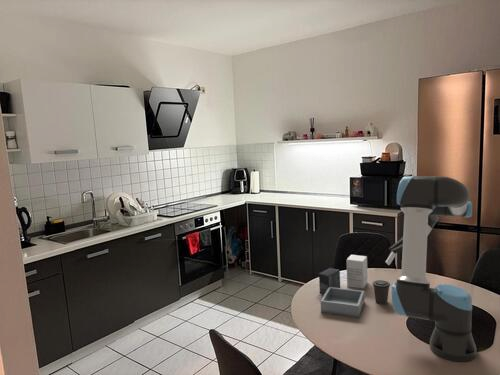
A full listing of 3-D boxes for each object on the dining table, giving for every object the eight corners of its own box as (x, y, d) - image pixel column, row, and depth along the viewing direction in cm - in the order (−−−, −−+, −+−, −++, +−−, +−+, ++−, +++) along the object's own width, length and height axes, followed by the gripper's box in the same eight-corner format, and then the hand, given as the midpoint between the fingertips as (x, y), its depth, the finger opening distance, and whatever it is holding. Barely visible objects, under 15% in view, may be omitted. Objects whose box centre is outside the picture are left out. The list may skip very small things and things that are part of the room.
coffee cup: (369, 302, 182) (369, 282, 180) (377, 296, 188) (376, 277, 186) (386, 307, 176) (386, 286, 175) (393, 301, 182) (393, 281, 181)
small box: (330, 286, 204) (329, 267, 203) (341, 289, 199) (340, 269, 198) (318, 292, 197) (318, 272, 195) (329, 295, 192) (329, 275, 191)
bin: (359, 317, 167) (358, 306, 167) (320, 312, 174) (320, 301, 174) (364, 301, 183) (364, 291, 182) (329, 297, 190) (328, 286, 189)
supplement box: (351, 280, 210) (350, 254, 208) (367, 282, 205) (367, 256, 203) (346, 286, 202) (345, 259, 200) (363, 289, 198) (363, 261, 196)
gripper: (446, 242, 179) (423, 279, 175) (403, 231, 201) (382, 264, 197) (438, 233, 176) (415, 271, 172) (396, 223, 198) (374, 256, 194)
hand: (397, 267), depth 184 cm, fingers open, 13 cm apart
